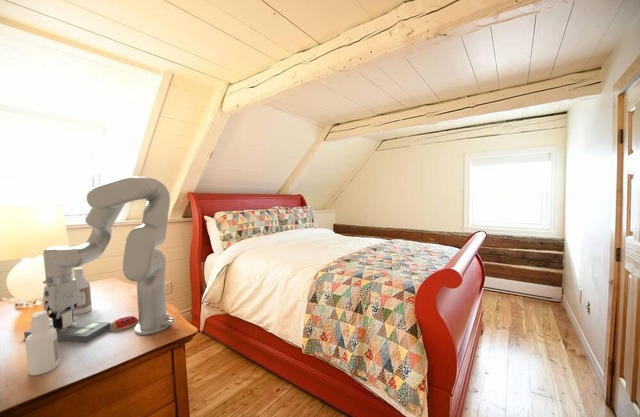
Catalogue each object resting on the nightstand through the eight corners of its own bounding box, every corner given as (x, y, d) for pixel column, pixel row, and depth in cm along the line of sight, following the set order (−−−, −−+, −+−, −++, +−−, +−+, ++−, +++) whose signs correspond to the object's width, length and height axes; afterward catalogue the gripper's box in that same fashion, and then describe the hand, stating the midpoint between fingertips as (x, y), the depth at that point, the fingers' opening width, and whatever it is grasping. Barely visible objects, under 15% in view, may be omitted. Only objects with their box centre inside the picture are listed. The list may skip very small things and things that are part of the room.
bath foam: (70, 316, 119) (66, 271, 118) (73, 310, 125) (69, 267, 123) (90, 312, 123) (87, 269, 121) (92, 306, 129) (89, 265, 127)
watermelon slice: (108, 328, 110) (107, 320, 110) (137, 320, 117) (136, 312, 116) (110, 335, 105) (110, 326, 105) (140, 325, 112) (140, 317, 112)
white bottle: (65, 361, 89) (60, 307, 88) (45, 375, 82) (39, 318, 81) (43, 361, 89) (38, 308, 87) (21, 376, 82) (15, 318, 81)
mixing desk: (111, 328, 109) (110, 322, 109) (87, 342, 99) (86, 335, 99) (53, 324, 112) (52, 318, 112) (24, 338, 102) (24, 331, 102)
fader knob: (73, 323, 107) (72, 308, 107) (63, 328, 104) (62, 313, 103) (64, 323, 108) (62, 308, 107) (54, 327, 104) (52, 312, 104)
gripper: (44, 287, 96) (48, 337, 97) (89, 272, 112) (92, 315, 114) (25, 286, 96) (30, 336, 98) (72, 271, 113) (76, 314, 114)
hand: (63, 324), depth 106 cm, fingers closed on fader knob, 3 cm apart
